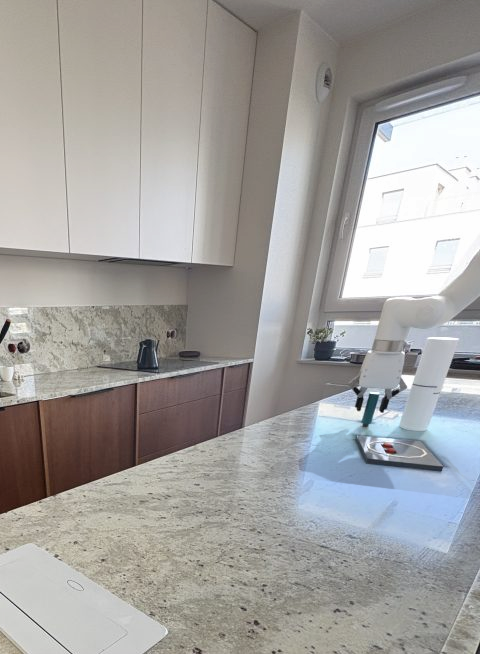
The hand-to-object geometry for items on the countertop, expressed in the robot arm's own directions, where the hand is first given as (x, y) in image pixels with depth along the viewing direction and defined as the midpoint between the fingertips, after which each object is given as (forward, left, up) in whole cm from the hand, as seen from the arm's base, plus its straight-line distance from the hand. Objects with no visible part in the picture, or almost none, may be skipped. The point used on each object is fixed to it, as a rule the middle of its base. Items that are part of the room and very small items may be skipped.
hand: (369, 410), depth 126 cm
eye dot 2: (-2, +28, -5) cm, 29 cm away
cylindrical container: (-13, -3, -5) cm, 14 cm away
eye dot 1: (-2, +24, -5) cm, 24 cm away
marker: (0, 0, -5) cm, 5 cm away
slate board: (-3, +26, -5) cm, 27 cm away
